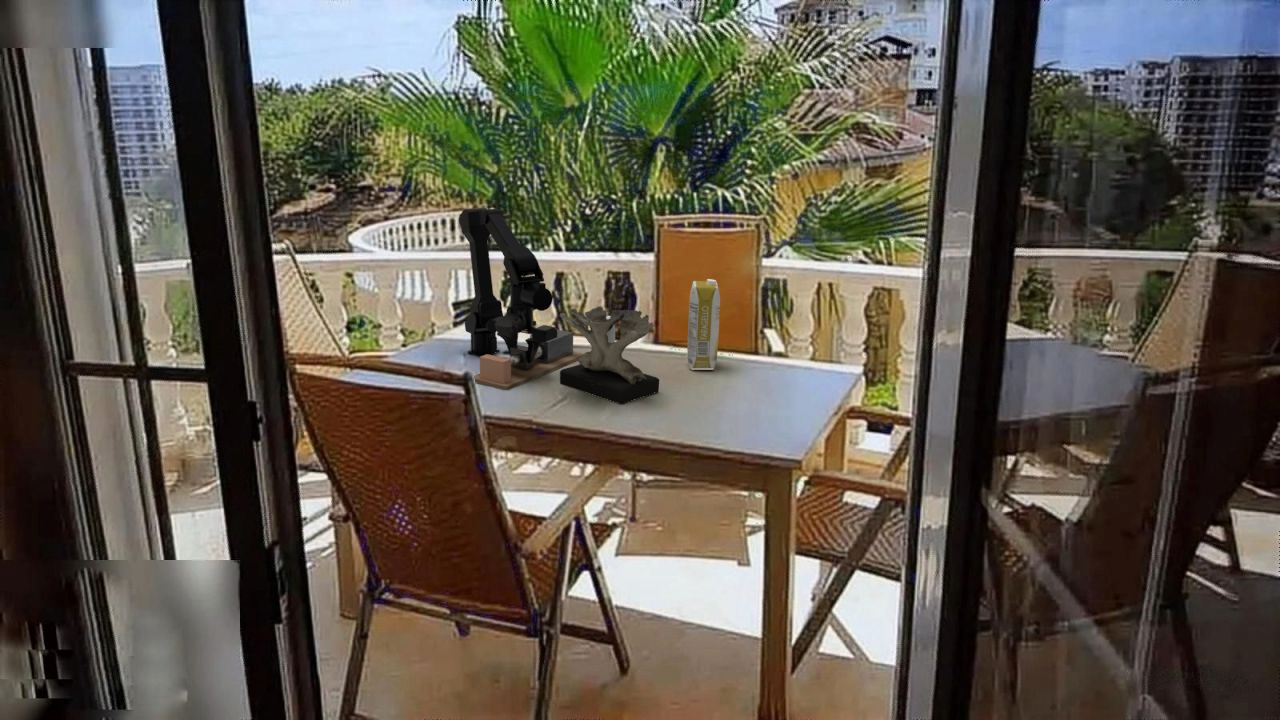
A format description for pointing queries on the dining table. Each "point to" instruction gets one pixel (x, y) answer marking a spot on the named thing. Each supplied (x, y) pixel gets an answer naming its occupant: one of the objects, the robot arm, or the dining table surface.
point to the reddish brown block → (495, 368)
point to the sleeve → (557, 347)
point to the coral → (609, 356)
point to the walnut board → (529, 372)
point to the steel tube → (523, 356)
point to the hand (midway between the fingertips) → (521, 361)
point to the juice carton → (703, 324)
